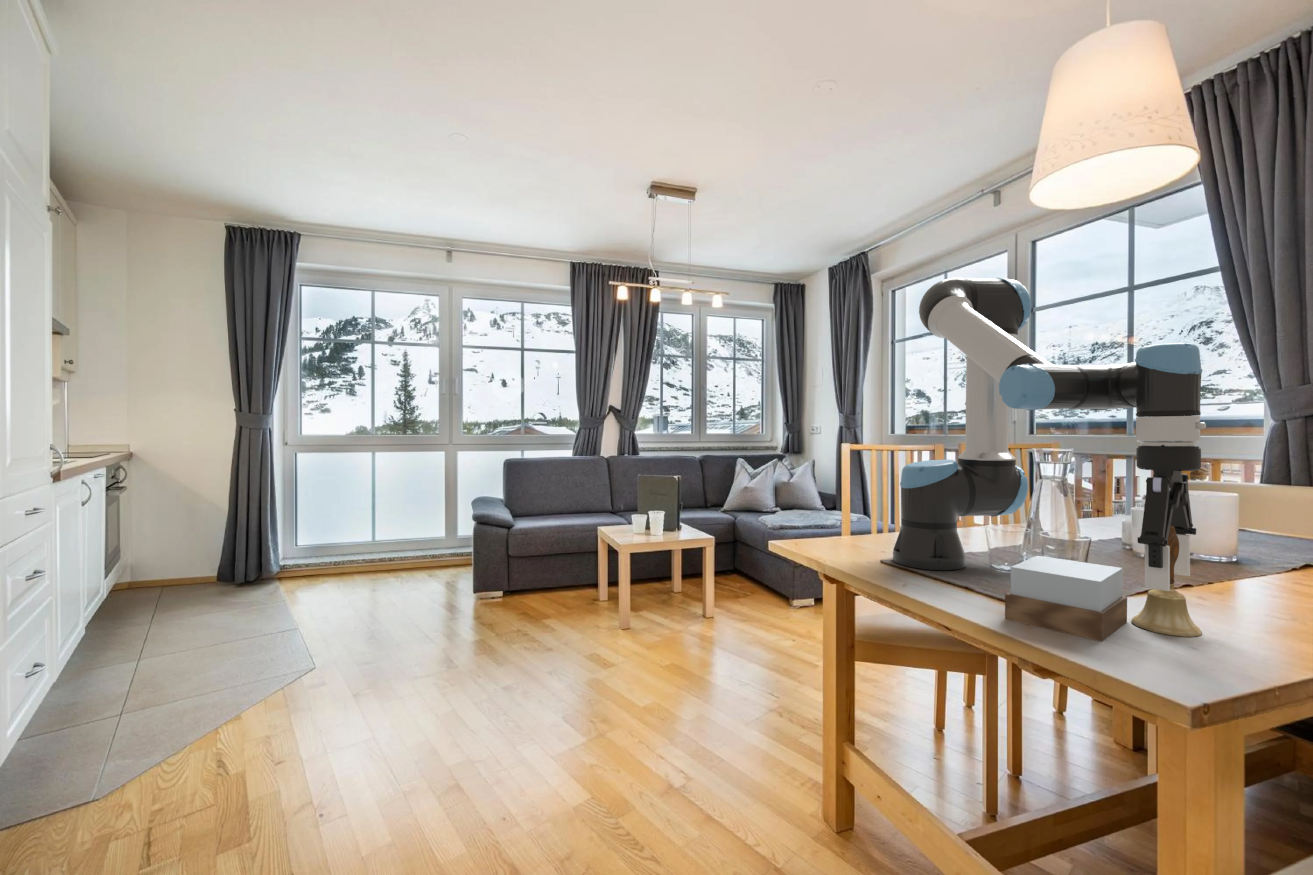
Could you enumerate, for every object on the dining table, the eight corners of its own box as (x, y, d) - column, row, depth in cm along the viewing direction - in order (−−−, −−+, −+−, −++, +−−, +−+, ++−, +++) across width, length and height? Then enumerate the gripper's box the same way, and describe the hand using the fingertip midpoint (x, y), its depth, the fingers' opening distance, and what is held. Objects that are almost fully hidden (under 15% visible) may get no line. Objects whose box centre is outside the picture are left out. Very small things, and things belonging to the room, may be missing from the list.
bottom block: (1004, 621, 95) (1005, 593, 95) (1035, 605, 103) (1035, 580, 103) (1101, 644, 85) (1102, 613, 85) (1126, 624, 93) (1127, 596, 93)
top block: (1010, 594, 95) (1010, 566, 95) (1037, 580, 102) (1037, 555, 102) (1100, 611, 86) (1100, 581, 85) (1122, 595, 93) (1122, 568, 93)
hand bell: (1202, 627, 90) (1204, 525, 90) (1201, 641, 85) (1202, 532, 84) (1134, 615, 96) (1135, 519, 96) (1128, 627, 90) (1129, 525, 90)
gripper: (1181, 446, 79) (1182, 601, 79) (1216, 443, 95) (1216, 573, 95) (1113, 445, 85) (1114, 590, 85) (1156, 442, 100) (1157, 565, 101)
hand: (1168, 581), depth 90 cm, fingers open, 13 cm apart
